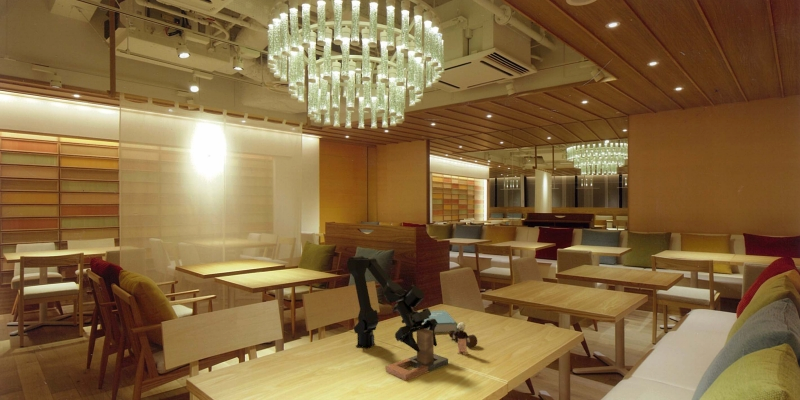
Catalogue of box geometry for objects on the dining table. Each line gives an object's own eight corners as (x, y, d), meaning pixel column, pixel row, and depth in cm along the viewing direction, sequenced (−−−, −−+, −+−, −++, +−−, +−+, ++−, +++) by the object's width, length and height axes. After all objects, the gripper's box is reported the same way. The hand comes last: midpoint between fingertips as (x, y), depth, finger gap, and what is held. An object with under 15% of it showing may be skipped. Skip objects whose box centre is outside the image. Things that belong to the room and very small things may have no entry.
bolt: (453, 341, 189) (474, 350, 176) (445, 338, 187) (466, 346, 174) (457, 329, 191) (479, 337, 178) (449, 325, 189) (471, 333, 176)
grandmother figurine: (472, 352, 170) (471, 322, 170) (469, 355, 166) (469, 324, 166) (454, 350, 173) (453, 320, 173) (451, 353, 169) (450, 322, 169)
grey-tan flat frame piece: (405, 380, 143) (405, 375, 143) (385, 371, 152) (385, 366, 152) (448, 364, 158) (448, 358, 158) (428, 356, 166) (428, 351, 166)
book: (417, 321, 219) (417, 311, 219) (447, 319, 221) (446, 310, 221) (424, 334, 196) (424, 323, 197) (457, 332, 198) (457, 322, 198)
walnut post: (425, 368, 154) (424, 333, 154) (417, 364, 158) (416, 330, 158) (433, 365, 157) (433, 330, 157) (425, 361, 161) (424, 328, 161)
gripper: (399, 306, 155) (420, 342, 146) (434, 298, 167) (455, 331, 158) (386, 322, 161) (405, 359, 152) (421, 314, 173) (440, 347, 164)
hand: (427, 348), depth 157 cm, fingers open, 9 cm apart
